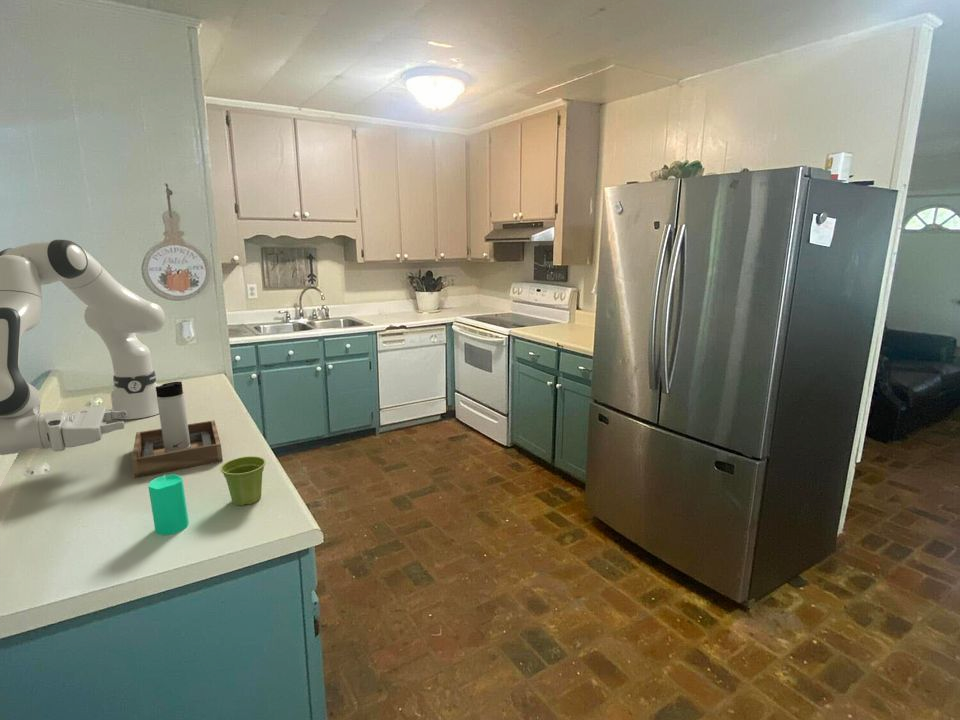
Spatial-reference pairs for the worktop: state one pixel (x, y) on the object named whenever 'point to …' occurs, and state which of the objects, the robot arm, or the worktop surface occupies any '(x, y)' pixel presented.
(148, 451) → the plate
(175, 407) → the travel mug
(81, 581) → the worktop surface
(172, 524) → the candle
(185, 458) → the open box
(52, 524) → the worktop surface
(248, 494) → the plant pot
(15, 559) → the worktop surface
